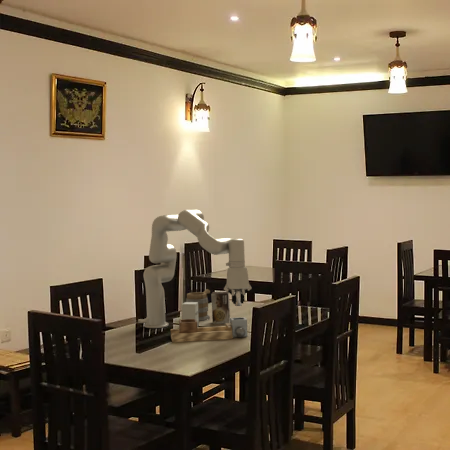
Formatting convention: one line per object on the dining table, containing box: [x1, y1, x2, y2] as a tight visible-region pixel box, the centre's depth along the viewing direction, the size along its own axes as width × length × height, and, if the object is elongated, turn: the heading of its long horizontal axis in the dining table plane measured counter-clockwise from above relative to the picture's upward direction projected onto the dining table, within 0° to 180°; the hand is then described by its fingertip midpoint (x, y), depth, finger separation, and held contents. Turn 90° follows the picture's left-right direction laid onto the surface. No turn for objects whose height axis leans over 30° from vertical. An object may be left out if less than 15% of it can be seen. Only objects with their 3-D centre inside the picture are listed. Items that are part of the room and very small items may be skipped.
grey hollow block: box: [229, 316, 248, 339], centre depth 329 cm, size 7×10×8 cm
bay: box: [170, 323, 234, 343], centre depth 328 cm, size 28×13×5 cm, turn 97°
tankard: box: [185, 288, 211, 322], centre depth 382 cm, size 20×13×15 cm, turn 148°
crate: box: [178, 318, 199, 333], centre depth 327 cm, size 8×9×7 cm
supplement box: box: [180, 301, 200, 327], centre depth 355 cm, size 7×7×13 cm
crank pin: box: [234, 289, 242, 307], centre depth 330 cm, size 3×3×8 cm
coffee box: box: [210, 291, 231, 325], centre depth 366 cm, size 9×6×16 cm
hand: (238, 303), depth 330 cm, fingers closed on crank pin, 3 cm apart
